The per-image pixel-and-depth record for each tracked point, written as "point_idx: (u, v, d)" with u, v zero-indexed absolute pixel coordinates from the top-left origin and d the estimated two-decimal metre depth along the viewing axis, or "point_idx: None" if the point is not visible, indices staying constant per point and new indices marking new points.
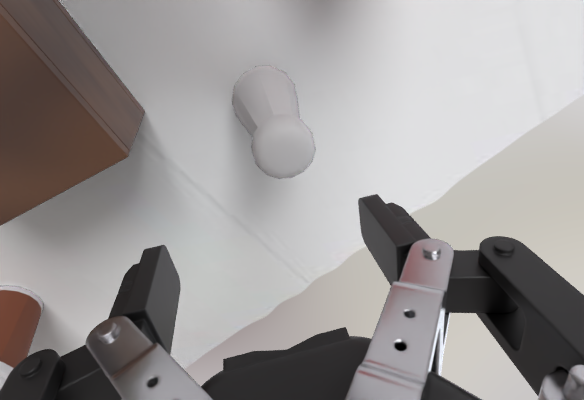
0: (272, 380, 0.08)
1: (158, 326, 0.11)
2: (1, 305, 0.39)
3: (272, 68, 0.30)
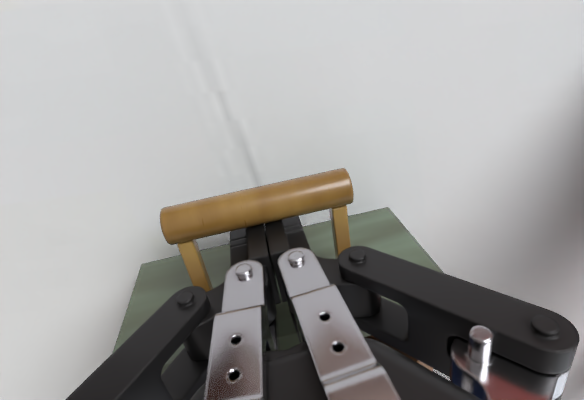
0: (272, 380, 0.08)
1: (273, 274, 0.13)
2: None
3: None
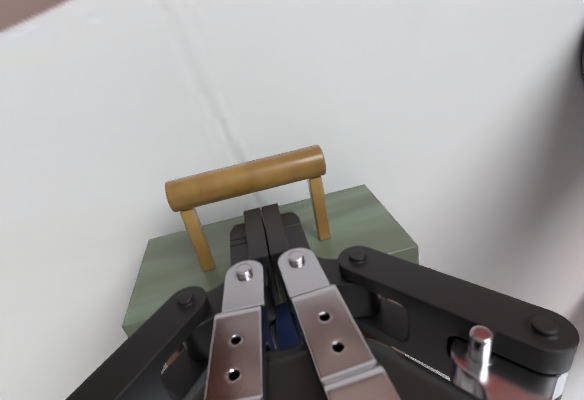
0: (272, 380, 0.08)
1: (273, 274, 0.13)
2: None
3: None
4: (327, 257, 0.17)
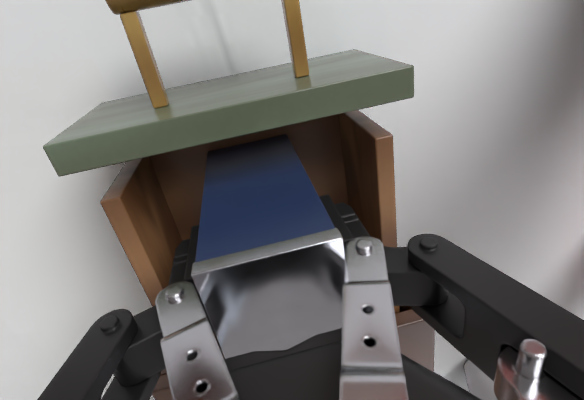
0: (272, 380, 0.08)
1: None
2: None
3: None
4: (302, 84, 0.14)
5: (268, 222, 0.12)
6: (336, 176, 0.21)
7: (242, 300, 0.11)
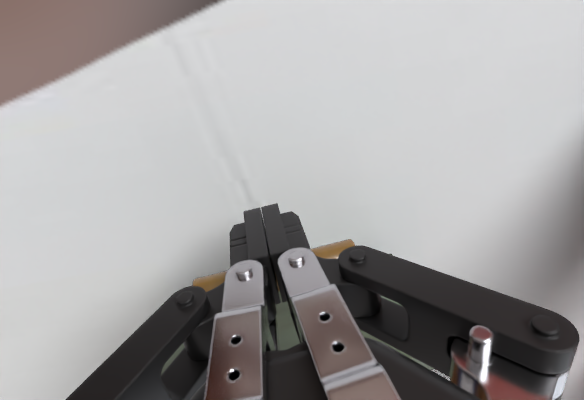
0: (272, 380, 0.08)
1: (273, 274, 0.13)
2: None
3: None
4: None
5: None
6: None
7: None
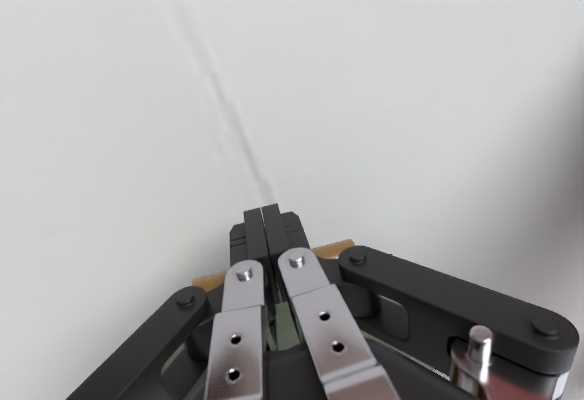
0: (272, 380, 0.08)
1: (273, 274, 0.13)
2: None
3: None
4: None
5: None
6: None
7: None
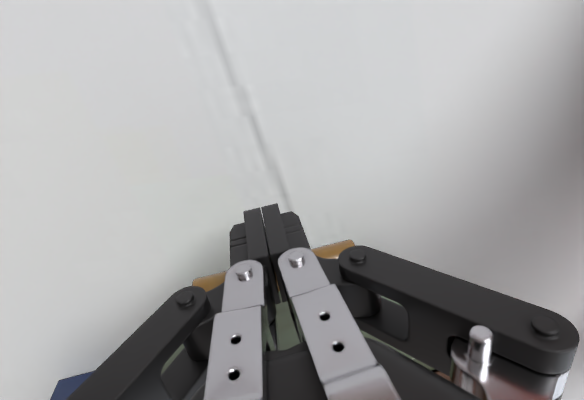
0: (272, 380, 0.08)
1: (273, 274, 0.13)
2: None
3: None
4: None
5: None
6: None
7: None
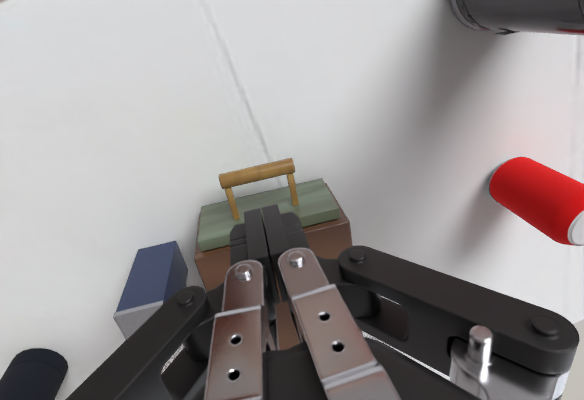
0: (272, 380, 0.08)
1: (273, 274, 0.13)
2: None
3: None
4: (295, 213, 0.34)
5: None
6: None
7: None
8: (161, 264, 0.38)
